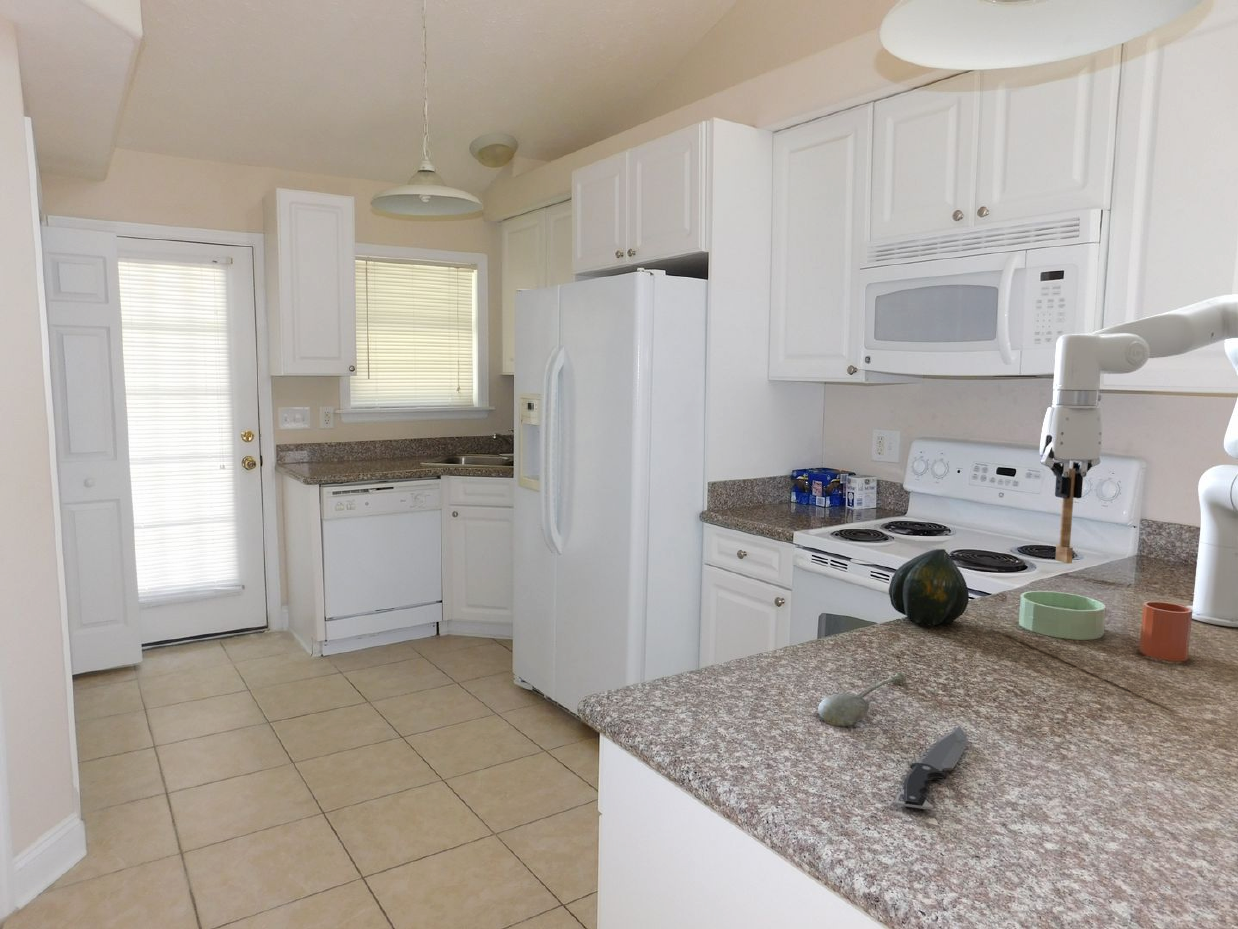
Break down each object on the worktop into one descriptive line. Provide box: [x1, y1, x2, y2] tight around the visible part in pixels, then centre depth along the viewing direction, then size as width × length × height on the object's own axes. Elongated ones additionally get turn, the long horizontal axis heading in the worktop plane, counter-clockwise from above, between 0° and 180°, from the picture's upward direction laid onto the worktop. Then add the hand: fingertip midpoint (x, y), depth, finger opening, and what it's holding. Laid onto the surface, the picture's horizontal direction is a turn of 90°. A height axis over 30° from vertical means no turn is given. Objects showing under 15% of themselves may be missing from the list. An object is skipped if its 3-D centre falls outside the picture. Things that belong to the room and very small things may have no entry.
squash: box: [888, 548, 970, 626], centre depth 159 cm, size 14×15×15 cm
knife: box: [894, 725, 968, 811], centre depth 98 cm, size 26×1×5 cm
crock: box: [1138, 600, 1193, 662], centre depth 140 cm, size 7×7×9 cm
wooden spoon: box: [1054, 467, 1076, 564], centre depth 154 cm, size 3×2×18 cm, turn 12°
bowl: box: [1017, 590, 1107, 641], centre depth 154 cm, size 14×14×6 cm
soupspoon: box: [817, 672, 906, 727], centre depth 117 cm, size 22×3×7 cm
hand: (1068, 496), depth 154 cm, fingers closed on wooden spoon, 1 cm apart
